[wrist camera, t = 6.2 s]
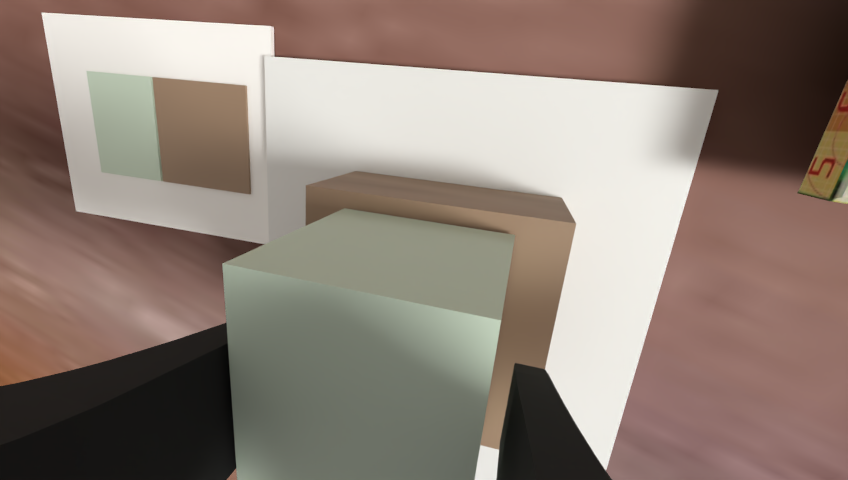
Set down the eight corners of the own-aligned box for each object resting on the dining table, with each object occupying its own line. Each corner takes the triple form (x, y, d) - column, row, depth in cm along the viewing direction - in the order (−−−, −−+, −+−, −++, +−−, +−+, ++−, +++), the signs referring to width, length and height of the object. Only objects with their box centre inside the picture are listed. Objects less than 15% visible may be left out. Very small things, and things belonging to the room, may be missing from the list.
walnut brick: (524, 382, 15) (526, 456, 12) (348, 344, 16) (304, 400, 13) (561, 197, 13) (576, 223, 9) (355, 170, 14) (305, 185, 11)
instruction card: (277, 244, 16) (273, 246, 16) (80, 210, 18) (73, 211, 18) (273, 27, 14) (268, 25, 14) (47, 14, 16) (38, 12, 16)
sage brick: (481, 432, 11) (452, 610, 7) (338, 395, 12) (240, 532, 8) (515, 235, 10) (501, 319, 5) (344, 208, 11) (222, 264, 6)
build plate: (578, 541, 17) (580, 555, 16) (281, 456, 20) (274, 465, 19) (709, 91, 12) (718, 90, 11) (274, 58, 14) (264, 56, 14)
